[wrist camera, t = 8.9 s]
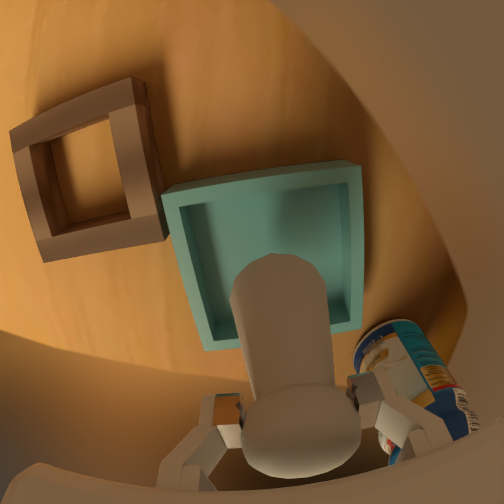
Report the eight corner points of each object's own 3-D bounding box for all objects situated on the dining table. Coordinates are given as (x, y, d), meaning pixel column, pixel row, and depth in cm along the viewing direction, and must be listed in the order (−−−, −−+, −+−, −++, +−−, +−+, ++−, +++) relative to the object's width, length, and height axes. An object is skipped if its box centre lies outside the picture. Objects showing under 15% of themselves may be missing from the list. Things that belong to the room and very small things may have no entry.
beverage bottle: (418, 360, 30) (487, 498, 12) (352, 383, 31) (399, 541, 13) (423, 304, 27) (528, 461, 8) (347, 329, 28) (419, 524, 9)
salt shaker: (213, 272, 20) (179, 455, 8) (286, 221, 18) (348, 388, 6) (266, 330, 22) (280, 500, 10) (333, 287, 20) (405, 452, 8)
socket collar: (30, 128, 19) (9, 131, 16) (145, 82, 19) (130, 76, 16) (60, 248, 24) (43, 262, 21) (173, 227, 23) (164, 241, 21)
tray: (173, 184, 22) (160, 195, 19) (344, 159, 21) (361, 166, 18) (208, 326, 27) (204, 351, 24) (349, 305, 26) (361, 328, 23)
